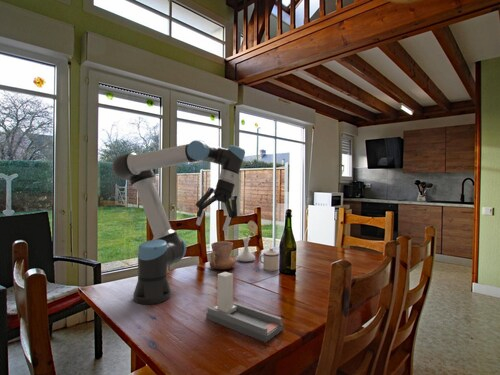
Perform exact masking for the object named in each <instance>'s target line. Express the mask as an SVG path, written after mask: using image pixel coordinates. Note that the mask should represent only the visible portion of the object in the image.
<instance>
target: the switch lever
mask: <svg viewBox="0 0 500 375" xmlns="http://www.w3.org/2000/svg"><path fill="white" fill-rule="evenodd" d="M216 284H217V287H216V290H217V292H216V294H217V296H216V297H217V300H216V302H217V304H216V306H214V307H212V308H215V309H217V310H220V311H223V312H226V313H228V314H230V313H232V312H234V311H236V310H237V306H234V305H233V302H234V273H231V272H227V271H223V272H221V273H218V274H217V283H216Z"/></svg>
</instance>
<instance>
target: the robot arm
mask: <svg viewBox="0 0 500 375" xmlns="http://www.w3.org/2000/svg"><path fill="white" fill-rule="evenodd" d="M245 154H246V151H245V149H244V148H242V147H240V146H238V145H229V147H228V148H224V147H221V146H217V145H215V144H212V143H210V142H209V143H208V142H206V141H203V140H198V139H196V140H192V141H191V142H189V143H187V144H181V145H176V146H172V147H167V148H163V149H161V148H160V149H157V150H152V151H147V152H142V153H136V152H129V153H123V154H119V155H117V157H115V158H114V159H113V162H112V164H111V169H112V172H113V173H114V174H113V175H115V177H117V178H119V179H121V180H124V181H129V182H130V186H131V187H132V188H133V189H135V190H136V192H137V195H138V197H139V200H140V202H141V205H142V207H143V210H144V213H145V216H146V220H147V222H148V224H149V227H150V230H151V232H152V235H153V238H152V239H151V240H146V241H143V242H142V243H140V244H139V246H138V250H137V283H136V285H135V288H134V292H133V295H132V298H133V302H134V303H136V302H137V303H136V304H139V303H140V305H153V304H154V305H155V303H156V304H160V303H163V302H165V301H168V300H169V299H170V298H171V297H172V288H171V286H170V283H169V280H168V267H170V266H172V265H174V264H176V263H178V262H179V261H181V260H182V259H184V257H185V255H186V252H187V244H186V242H185V240H184V239H183V238H181V237H180V236H178V232H177V230H175V229H173V228H172V226H171V224H170V221H169V219H168V215H167V214H166V211H165V210H166V209H165V208H164V204H163V203H162V199H161V197H160V194H159V192H158V190H157V187H156V184H155V182H156V180H157V178H156V175H157V170H158V169H162V168H167V167H168V168H169V167H172V166H178V165H183V164H188V163H189V164H190V163H195V162H201V161H202V162H208V163H214V164H216V165H220V166H222V168H221V171H220V173H219V177H218V178H219V179H218V180H217V182H216V185H215V189H214V188H213V187H210V186H209V187H208V188H207V190H206V192H205V194H203V195H202V196H201V197H200V199H199V200H198V201H196V203H195V206H196V207H197V208H198V210H197V214H196V216H197V219H196V222H195V224H196V225H197V226H198V227H199V226H201V223H202V220H203V218H204V216H205V212H206V210H205V209H206V208H207V207H210V205H212V204H213V203H214V202H222V203H224V205H225V209H226V212H227V214H228V215H226V218H225V221H224V223H223V226H222V231H224V232H228V229H229V227H230V225H231V224H232V220H233V219H235V218H237V217H238V207H237V206H238V205H237V199H238V196H237V195H234V194H233V192H234V189H235V185H236V184H235V183H236V182H237V180H238V176H239V173H240V170H241V167H242V164H243V162H244V158H245ZM212 194H213V195H212ZM211 195H212V196H211Z"/></svg>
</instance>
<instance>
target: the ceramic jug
mask: <svg viewBox="0 0 500 375" xmlns="http://www.w3.org/2000/svg"><path fill="white" fill-rule="evenodd" d="M210 245H211V250H212V251H211V253H210V261H209V266H210V268H213V269H214V270H219V271H220V270H221V271H223V270H224V271H225V270H229V269H232V268H233V267H234V266H235V264H236V261H235V259H234V258H233V257H231V253H232V252H233V248H234V247H233V245H234V243H233V242H231V241H215V242H212V243H211V244H210Z"/></svg>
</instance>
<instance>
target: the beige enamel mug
mask: <svg viewBox="0 0 500 375" xmlns="http://www.w3.org/2000/svg"><path fill="white" fill-rule="evenodd" d="M262 257H263V261H262ZM258 260H259V262H260V263H261V264H263V266H262V267H263V269H264V270H265V271H269V272H273V271H274V272H275V271H278V270H279V260H280V253H279V251H276V250H275V249H274V248H272V247H270V248H269V249H268V250H265V251H264V252H263V253H262V254H260V255H259V257H258Z"/></svg>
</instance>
